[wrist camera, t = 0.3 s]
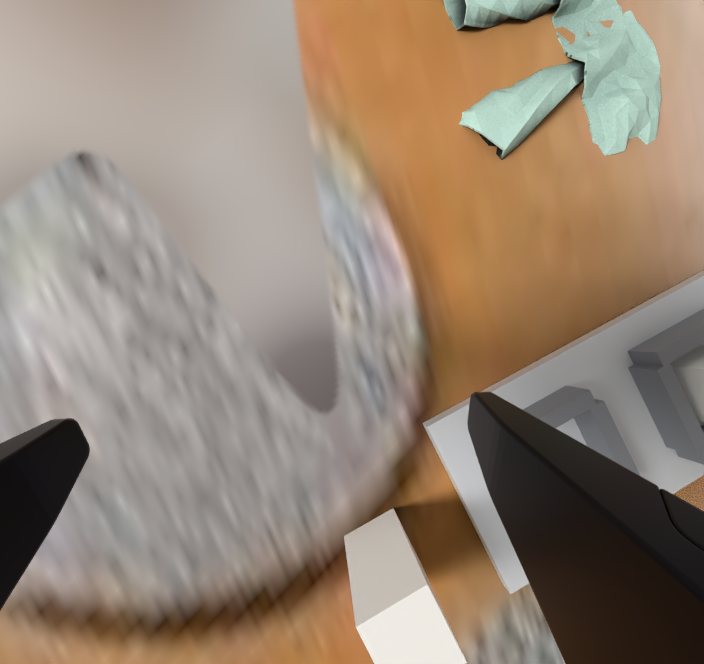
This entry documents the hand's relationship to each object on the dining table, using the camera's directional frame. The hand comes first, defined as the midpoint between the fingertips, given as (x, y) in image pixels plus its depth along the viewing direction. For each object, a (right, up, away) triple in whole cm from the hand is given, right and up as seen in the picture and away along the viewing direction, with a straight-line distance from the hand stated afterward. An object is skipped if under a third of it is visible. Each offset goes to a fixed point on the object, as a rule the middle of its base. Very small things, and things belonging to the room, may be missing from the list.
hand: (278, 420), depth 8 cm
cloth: (+13, +22, +17) cm, 31 cm away
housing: (+20, -4, +16) cm, 26 cm away
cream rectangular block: (+4, -12, +14) cm, 19 cm away
